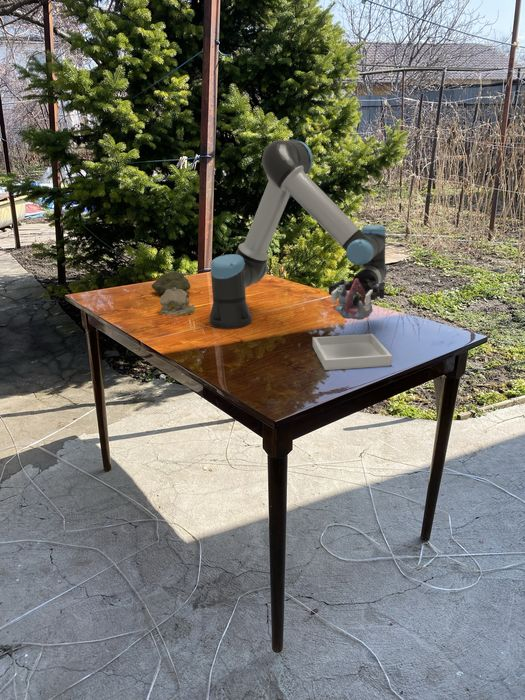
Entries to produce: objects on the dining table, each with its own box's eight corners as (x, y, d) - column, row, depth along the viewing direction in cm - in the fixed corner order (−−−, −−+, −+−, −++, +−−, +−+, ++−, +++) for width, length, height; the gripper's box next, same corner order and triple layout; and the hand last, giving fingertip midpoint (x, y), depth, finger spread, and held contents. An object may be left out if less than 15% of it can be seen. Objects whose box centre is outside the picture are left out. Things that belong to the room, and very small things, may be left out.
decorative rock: (162, 300, 221) (159, 277, 217) (149, 292, 234) (147, 270, 230) (194, 294, 228) (193, 272, 224) (181, 287, 241) (179, 266, 237)
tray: (325, 370, 147) (325, 360, 146) (312, 346, 164) (312, 337, 163) (391, 365, 148) (392, 355, 147) (372, 342, 166) (372, 333, 165)
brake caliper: (367, 316, 145) (344, 279, 145) (339, 333, 152) (317, 298, 153) (385, 306, 153) (364, 271, 154) (357, 323, 160) (337, 289, 161)
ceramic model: (154, 316, 200) (151, 291, 197) (164, 308, 211) (161, 283, 207) (190, 317, 198) (188, 291, 195) (198, 308, 208) (196, 283, 205)
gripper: (401, 294, 163) (387, 315, 144) (333, 289, 172) (312, 308, 152) (402, 270, 161) (389, 288, 142) (333, 267, 169) (312, 283, 150)
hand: (349, 298), depth 147 cm, fingers closed on brake caliper, 9 cm apart
